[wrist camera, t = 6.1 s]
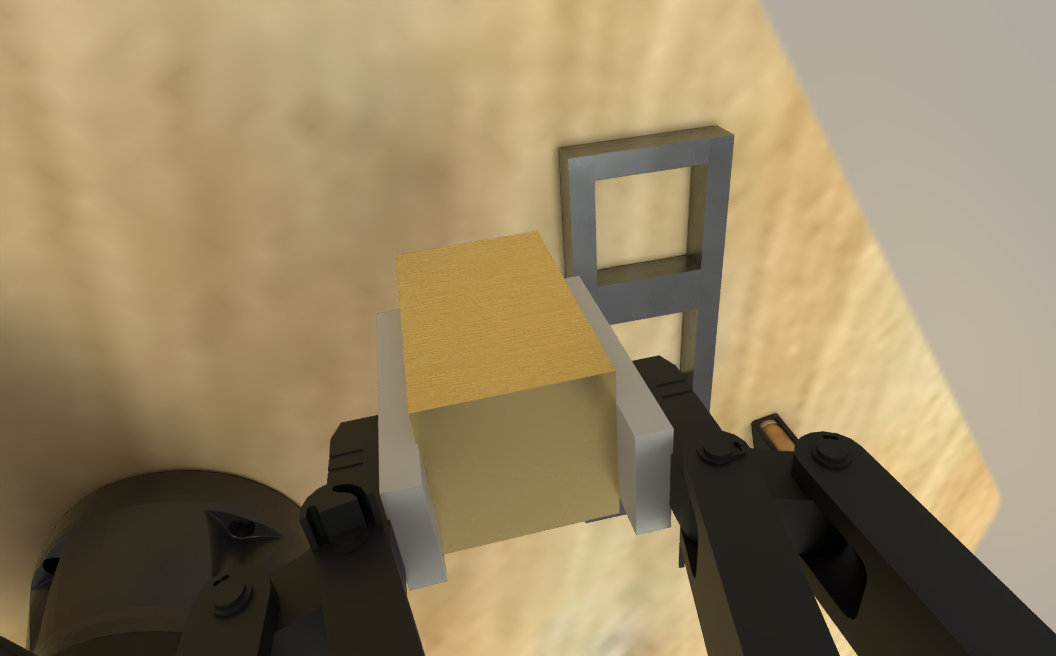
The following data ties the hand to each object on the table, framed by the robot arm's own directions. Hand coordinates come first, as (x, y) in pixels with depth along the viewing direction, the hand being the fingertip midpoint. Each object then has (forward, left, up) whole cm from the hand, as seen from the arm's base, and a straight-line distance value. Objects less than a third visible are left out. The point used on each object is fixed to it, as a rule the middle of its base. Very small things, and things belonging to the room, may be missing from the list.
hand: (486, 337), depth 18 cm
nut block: (0, 0, -2) cm, 2 cm away
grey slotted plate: (+10, -11, -15) cm, 21 cm away
